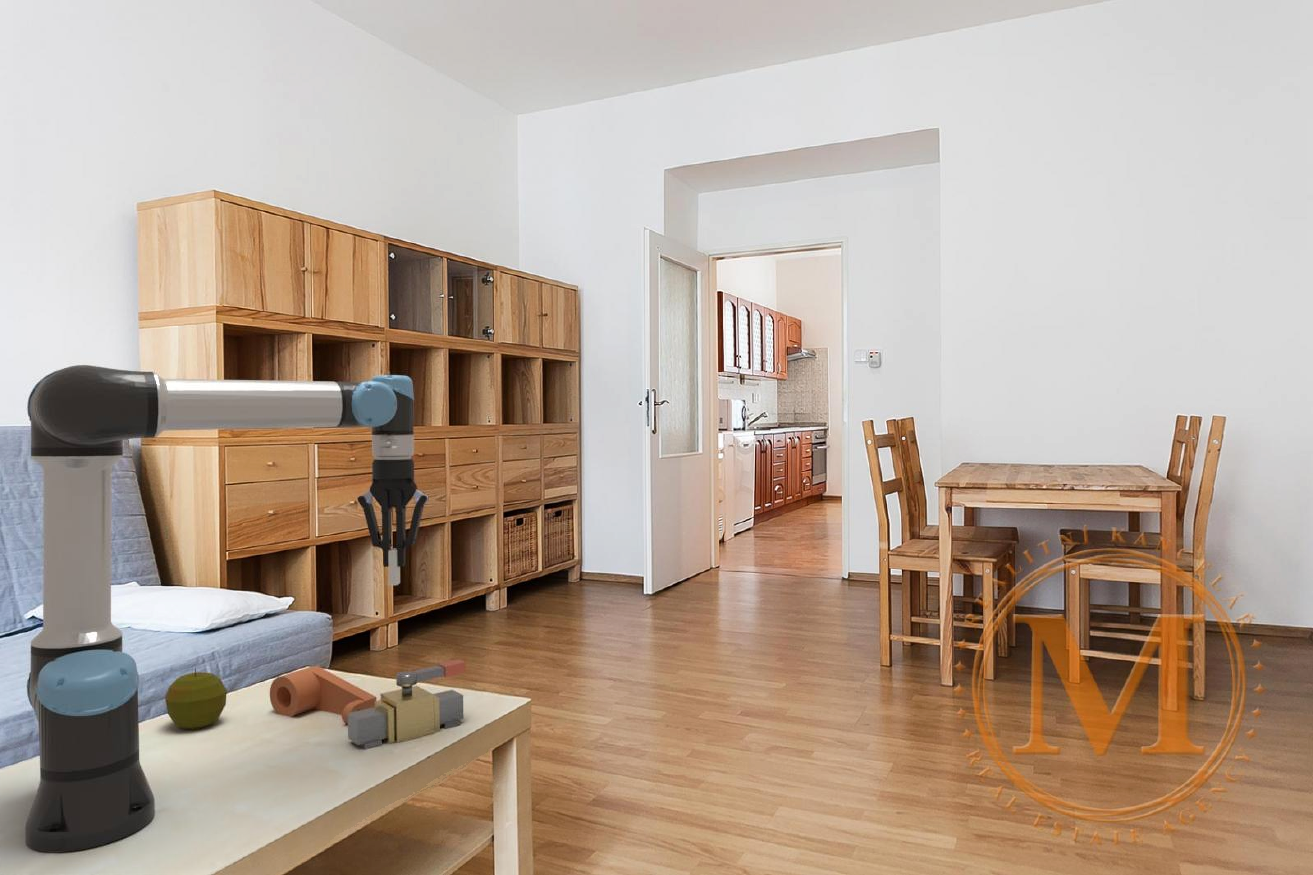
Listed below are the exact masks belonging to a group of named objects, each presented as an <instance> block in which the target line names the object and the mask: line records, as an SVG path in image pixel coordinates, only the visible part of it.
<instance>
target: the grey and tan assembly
mask: <svg viewBox="0 0 1313 875" xmlns="http://www.w3.org/2000/svg"><path fill="white" fill-rule="evenodd" d="M464 716H465V715H464V695H463V694H462V693H460V692H457V691H455V690H454V689H449V690H445V691H441V692H436V693H432V692H430V691H428V690H426V689H424V688H422V687H420V686H419V685H413V686H407V687H401V689H396V690H391V691H387V692H381V693H380V699H378V700H376V701H375V707H373V708H369V709H364V710H360V711H356V712H351V713H348V724H347V739H349V740H350V741H351V742H352V743H354V744H355V745H357V746H360V747H361V749H362V748H363V749H364V750H369V749H372V748H375V747H379V746H382V742H383V741H384V742H386V743H387V744H393V743H401V742H404V741H410V740H412V739H416V738H421V737H425V736H428V735H432V734H435V733H437V732H439V731H440V728H444V729H445V730H446V729H450V728H453V727H458V726H461V720H463V719H464ZM382 740H383V741H382Z"/></svg>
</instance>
